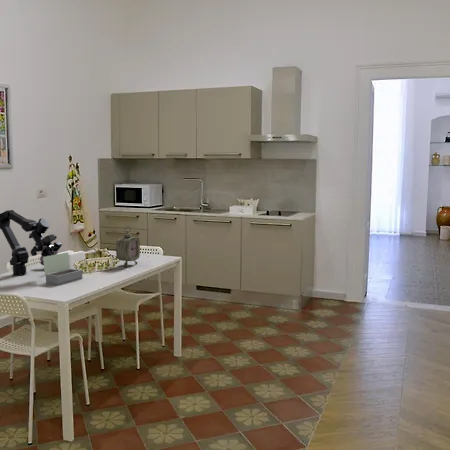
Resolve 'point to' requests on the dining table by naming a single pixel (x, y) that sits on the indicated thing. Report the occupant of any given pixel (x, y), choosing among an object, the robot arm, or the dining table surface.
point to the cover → (56, 262)
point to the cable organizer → (74, 257)
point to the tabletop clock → (128, 248)
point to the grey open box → (63, 277)
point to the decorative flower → (44, 256)
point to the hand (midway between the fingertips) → (54, 259)
